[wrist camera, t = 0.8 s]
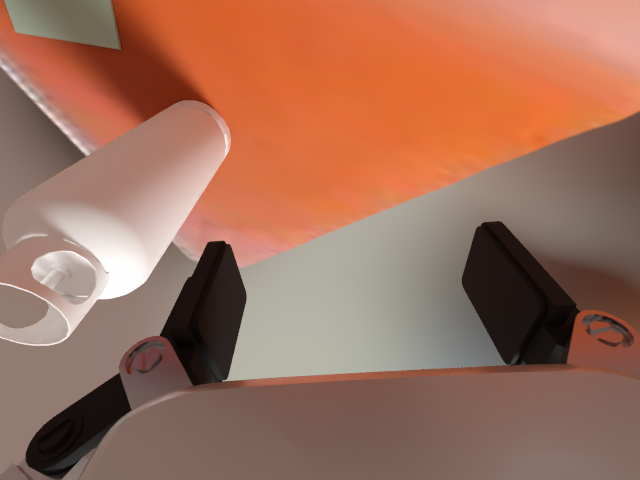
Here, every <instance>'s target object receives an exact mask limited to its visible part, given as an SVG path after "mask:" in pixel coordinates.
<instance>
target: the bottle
mask: <svg viewBox="0 0 640 480" xmlns="http://www.w3.org/2000/svg"><path fill="white" fill-rule="evenodd" d="M230 143H231V138H230V132H229V129H228V127H227V125H226V123H225V121H224V119H223V118H222V117H221V116H220V115H219V113H218V112H217V111H216V110H214V109H213V108H211V107H210V106H208V105H207V104H205V103H202V102H199V101H196V100H183V101H180V102H178V103H175V104H173V105H171V106H170V107H168V108H167V109H165V110H163V111H161V112H160V113H158V114H156V115H155V116H153V117H151V118H150V119H148V120H146V121H145V122H143V123H141V124H140V125H138V126H136V127H135V128H133V129H131V130H130V131H128V132H126V133H125V134H123V135H122V136H120V137H118V138H117V139H115V140H113V141H112V142H110V143H108V144H107V145H105V146H103V147H102V148H100V149H98V150H97V151H95V152H93V153H92V154H90V155H88V156H87V157H85V158H83V159H82V160H80V161H78V162H77V163H75V164H74V165H72V166H70V167H68V168H67V169H65V170H63V171H62V172H60V173H58V174H57V175H56V176H54V177H52V178H50V179H49V180H47V181H45V182H44V183H42V184H40V185H39V186H37V187H35V188H34V189H32V190H30V191H29V192H27V193H25V194H24V195H22V196H20V197H19V198H18V199H17V200H16V201H15V202H14V203H13V204H12V205H11V206H10V208H9V209H8V210H7V212H6V215H5V217H4V220H3V226H2V236H3V239H4V242H5V245H6V247H7V251H6V252H5V253H3V254H2V255H1V256H0V284H3V285H8V286H13V287H16V288H18V289H22V290H24V291H27V292H30V293H32V294H34V295H36V296H38V297H39V298H42V299H43V300H45V301H47V302H48V307H49V310H48V312H47V314H46V316H45V317H44V318H43V319H42V320H40V321H39V322H37V323H36V324H35V325H32V326H29V327H25V328H22V329H15V328H9V327H7V326H5V325H3V324H0V338H2V339H6V340H9V341H13V342H16V343H20V344H27V345H34V346H45V345H47V346H48V345H53V344H57V343H60V342H62V341H64V340H65V339H66V338H68V337H69V335H70V334H71V333H72V332H73V330H74V329H75V328H76V326H77V325H78V324H79V323H80V321H81V320H82V319H83V317H84V316H85V315H86V313H87V312H88V311H89V310H90V308H91V307H92V306H93V304H94V303H95V302H96V300H97V299H111V298H115V297H119V296H123V295H126V294H128V293H129V292H131V291H133V290H135V289H136V288H138V287H139V286H140V285H142V284H143V283H145V282H146V280H147V278H148V277H149V275H150V274H151V272H152V271H153V269H154V267H155V266H156V264H157V263H158V261H159V260H160V258H161V257H162V255H163V254H164V252H165V250H166V249H167V247H168V246H169V244H170V243H171V241H172V239H173V238H174V236H175V235H176V233H177V232H178V230H179V229H180V227H181V225H182V224H183V222H184V221H185V219H186V218H187V216H188V215H189V213H190V211H191V210H192V208H193V207H194V205H195V204H196V202H197V201H198V199H199V197H200V196H201V194H202V193H203V191H204V190H205V188H206V187H207V185H208V183H209V182H210V180H211V179H212V177H213V176H214V174H215V172H216V171H217V169H218V168H219V166H220V165H221V163H222V162H223V160H224V158H225V157H226V155H227V153H228V152H229V149H230ZM57 292H59V293H61V294H59V293H57ZM62 294H63V295H62Z"/></svg>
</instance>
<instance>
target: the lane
mask: <svg viewBox="0 0 640 480" xmlns="http://www.w3.org/2000/svg"><path fill="white" fill-rule="evenodd" d="M4 2H5V4H6V7H7V10H8V13H9V15H10V18H11V21H12V23H13V26H14V29H15V32H16V33H22V34H28V35H34V36H40V37H46V38H52V39H58V40H64V41H70V42H76V43H82V44H88V45H94V46H100V47H107V48H113V49H119V50H121V44H120V39H119V34H118V29H117V24H116V19H115V14H114V10H113V5H112V0H4Z"/></svg>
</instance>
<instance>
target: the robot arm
mask: <svg viewBox="0 0 640 480" xmlns="http://www.w3.org/2000/svg"><path fill="white" fill-rule="evenodd" d="M462 285H463V288H464V290H465V292H466V293H467V295H468V297H469V299H470V301H471V303H472V304H473V306H474V308H475V310H476V312H477V313H478V315H479V317H480V319H481V321H482V323H483V325H484V326H485V328H486V330H487V332H488V333H489V335H490V337H491V339H492V341H493V343H494V345H495V346H496V348H497V350H498V352H499V354H500V356H501V357H502V359H503V361H504V362H505V363H506V364H508V365H505V366H482V367H461V368H442V369H421V370H402V371H385V372H366V373H347V374H331V375H313V376H298V377H297V376H296V377H280V378H266V379H251V380H239V381H225V382H222V381H223V380H226V379H227V378H228V375H229V371H230V366H231V362H232V358H233V354H234V350H235V345H236V341H237V337H238V333H239V329H240V325H241V320H242V316H243V312H244V308H245V304H246V291H245V288H244V285H243V282H242V279H241V275H240V272H239V269H238V266H237V263H236V260H235V257H234V254H233V251H232V248H231V245H230V244H226V243H225V241H213V242H208V243H207V245H206V247H205V250H204V252H203V254H202V256H201V258H200V260H199V262H198V264H197V267H196V269H195V271H194V273H193V275H192V277H189V278H188V279H187V281H186V282H185V284H184V286H183V288H182V290H181V293H180V295H179V297H178V299H177V301H176V303H175V305H174V307H173V309H172V311H171V313H170V315H169V317H168V319H167V321H166V324H165V326H164V328H163V330H162V332H161V334H160V336H153V337H149V338H146V339H144V340H141V341H139V342H138V343H137V344H135V345H133V346H132V347H131V348H130V349H129V350H128V351H127V352H126V353H125V354H124V356H123V358H122V359H121V362H120V365H119V373H118V374H117V375H115V376H114V377H113V378H111V379H110V380H108V381H106V382H105V383H104V384H102V385H101V386H99V387H98V388H96V389H95V390H93V391H92V392H90V393H89V394H87V395H86V396H84V397H83V398H81V399H80V400H78V401H77V402H75V403H74V404H73V405H71V406H70V407H68V408H67V409H65V410H64V411H62V412H61V413H59V414H58V415H56V416H55V417H53V418H52V419H51V420H49V421H48V422H47V423H46V424H45V425H43V427H42V428H41V429H40V430H39V431H38V432H37V433H36V434H35V436H34V437H33V439H32V440H31V442H30V444H29V446H28V449H27V451H26V458H25V459H24V460H23V461H22V462H21V463H20V464H19V465H16V464H14V463H13V464H11V465H10V466H9V467H8V468H7V469H6V470H5V471H4V472H3V473H2V474H1V475H0V480H640V336H639V335H638V334H637V332H636V331H635V330H634V329H633V328H632V327H631V326H630V325H629V324H627V323H626V322H624V321H622V320H621V319H619V318H617V317H615V316H613V315H610V314H608V313H605V312H601V311H595V310H587V311H582V312H580V311H579V310H578V309H577V308H576V304H575V303H574V301H573V300H572V299H571V298H570V297H569V296H568V295H567V294H566V292H565V291H564V290H563V289H562V288H561V287H560V286H559V285H558V284H557V282H556V281H555V280H554V279H553V278H552V277H551V276H550V275H549V274H548V273H547V271H546V270H545V269H544V268H543V267H542V266H541V265H540V264H539V263H538V262H537V260H536V259H535V258H534V257H533V256H532V255H531V254H530V253H529V251H528V250H527V249H526V248H525V247H524V246H523V245H522V244H521V243H520V242H519V241H518V239H517V238H516V237H515V236H514V235H513V234H512V233H511V232H510V230H509V229H508V228H507V227H506V226H505V225H504V224H503V223H502V222H500V221H496V222H484V223H482V224H481V226H479V227H477V228H476V231H475V235H474V238H473V242H472V245H471V249H470V252H469V256H468V259H467V262H466V266H465V269H464V273H463V276H462Z"/></svg>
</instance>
